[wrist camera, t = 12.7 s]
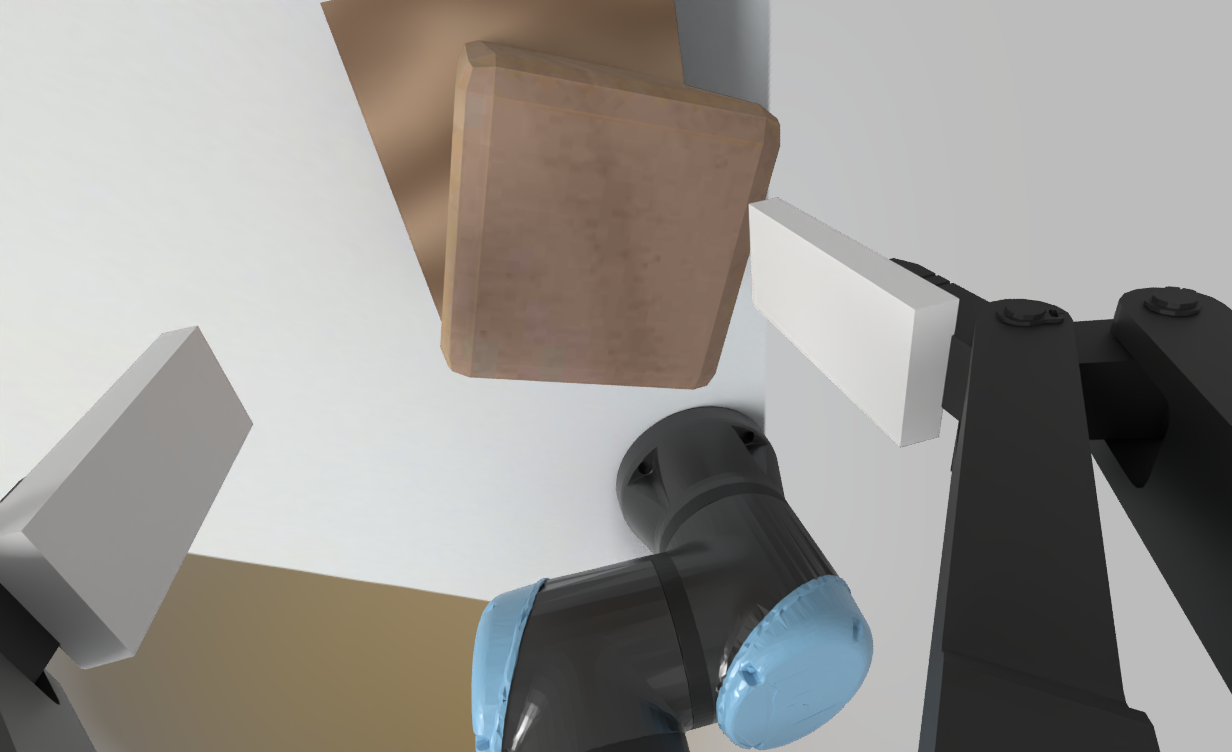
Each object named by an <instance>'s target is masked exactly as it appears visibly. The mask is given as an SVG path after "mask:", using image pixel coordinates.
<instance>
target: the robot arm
mask: <svg viewBox="0 0 1232 752" xmlns="http://www.w3.org/2000/svg"><path fill="white" fill-rule="evenodd" d="M749 226H750V250H751V275H752V299H753V305H754V306H755V307H756V308H757V309H758V310H759V311H760V312H761V313H762V314H763V315H764V316H765V317H766V318H767V319H768V320H769V321H770V322H771V323H772V324H773V325H774V326H776V327H777V328H778V329H779V330H780V331H781V332H782V333H783V334H784V335H785V336H786V337H787V338H788V339H789V340H790V341H791V342H792V343H793V344H794V345H795V346H796V347H797V348H798V349H799V350H800V351H801V352H802V353H803V354H804V355H805V356H806V357H808V359H809V360H810V361H812V363H814V364H815V365H816V366H817V367H818V368H819V369H820V370H821V371H822V372H823V373H824V374H825V375H826V376H827V377H828V378H829V379H830V380H831V381H832V382H833V383H834V384H835V385H836V386H837V387H838V388H839V389H840V390H841V391H842V392H843V393H844V394H845V395H846V396H847V397H848V398H850V399H851V400H852V401H853V402H854V403H855V404H856V405H857V406H858V407H859V408H860V409H861V410H862V411H863V412H864V413H865V414H866V415H867V416H868V417H869V418H870V419H871V420H872V421H873V422H874V423H875V424H876V425H877V426H878V427H880V429H881V430H882V431H883V432H885V434H887V435H888V436H889V437H890V438H891V439H892V440H893V441H894V442H895V443H896V444H897V445H898V446H899V447H904V446H908V445H911V444H915V443H919V442H922V441H926V440H929V439H934V438H937V437H939V433H940V426H941V419H942V413H943V409H945V410H946V411H947V412H948V413H950V414H951V415H952V416H953V417H955V418H956V419H957V420H958V421H959V423H958V429H957V436H956V441H955V447H954V453H953V459H952V465H951V471H952V476H951V484H950V493H949V501H948V509H947V517H946V525H945V533H944V542H943V550H942V558H941V566H940V575H939V583H938V592H937V600H936V608H935V616H934V625H933V633H932V641H931V649H930V658H929V666H928V675H927V682H926V691H925V699H924V707H923V716H922V724H921V732H920V740H919V749H918V752H1160V750H1159V745H1158V742H1157V738H1156V734H1155V730H1154V726H1153V724H1152V723H1151V721H1150V720H1149V718H1148V716H1147V715H1146V713H1145V712H1142V711H1139V710H1135V709H1132V708H1129V707H1128V705H1127V703H1126V701H1125V696H1124V691H1123V685H1122V677H1121V670H1120V663H1119V656H1118V648H1117V641H1116V633H1115V626H1114V619H1113V611H1112V604H1111V597H1110V589H1109V582H1108V574H1107V567H1106V560H1105V553H1104V546H1103V538H1102V531H1101V523H1100V516H1099V508H1098V501H1097V494H1096V486H1095V479H1094V472H1093V464H1092V458H1091V454H1092V455H1093V457H1094V459H1095V460H1096V462H1097V464H1098V466H1099V467H1100V469H1101V471H1102V472H1103V474H1104V476H1105V478H1106V479H1107V481H1108V482H1109V484H1110V486H1111V488H1112V490H1113V491H1114V493H1115V495H1116V496H1117V498H1118V500H1119V502H1120V503H1121V505H1122V507H1123V508H1124V510H1125V512H1126V514H1127V515H1128V517H1129V519H1130V520H1131V522H1132V524H1133V526H1134V527H1135V529H1136V530H1137V532H1138V534H1139V536H1140V538H1141V539H1142V541H1143V543H1144V544H1145V546H1146V548H1147V550H1148V551H1149V553H1150V555H1151V556H1152V558H1153V560H1154V562H1155V563H1156V565H1157V566H1158V568H1159V570H1160V572H1161V574H1162V575H1163V577H1164V579H1165V580H1166V582H1167V584H1168V585H1169V587H1170V589H1171V591H1172V592H1173V594H1174V596H1175V597H1176V599H1177V601H1178V602H1179V604H1180V606H1181V608H1182V609H1183V611H1184V613H1185V615H1186V616H1187V618H1188V620H1189V621H1190V623H1191V625H1192V626H1193V628H1194V630H1195V632H1196V633H1197V635H1198V637H1199V639H1200V640H1201V642H1202V644H1203V645H1204V647H1205V649H1206V650H1207V652H1208V653H1209V656H1210V657H1211V659H1212V661H1213V662H1214V664H1215V666H1216V668H1217V669H1218V671H1219V673H1220V674H1221V676H1222V678H1223V680H1224V681H1225V683H1226V685H1227V687H1228V688H1229V690H1230V692H1231V693H1232V310H1231V309H1230V308H1229V307H1227V306H1226V305H1225V304H1223V303H1222V302H1220V301H1218V300H1216V299H1214V298H1212V297H1210V296H1207V295H1203V294H1200V293H1197V292H1196V291H1194V290H1190V289H1185V288H1183V289H1180V288H1179V287H1165V288H1144V289H1136V290H1133V291H1130V292H1127V293H1124V294H1123V296H1122V297H1121V298H1120V299H1119V302H1118V305H1117V309H1116V312H1115V315H1114V319H1108V320H1093V321H1079V322H1073V320H1072V318H1071V316H1070V315H1069V313H1068V312H1066V311H1064V310H1063V309H1061V308H1059V307H1057V306H1055V305H1051V304H1048V303H1045V302H1041V301H1034V300H1027V299H1004V300H999V301H993V302H988V301H986V300H984V299H982V298H980V297H979V296H976V295H975V294H973V293H971V292H969V291H967V290H965V289H964V288H962V287H960V286H958V285H956V284H954V283H951V284H950V281H949V280H947V279H945V278H943V277H941V276H939V275H938V276H936V275H935V273H934V272H932V271H930V270H928V269H926V268H924V267H922V266H920V265H918V264H915V263H911V262H907V261H903V260H899V259H895V258H892V259H887V258H885V257H884V256H882V255H880V254H878V253H876V252H875V251H873V250H871V249H869V248H867V247H866V246H864V245H862V244H860V243H858V242H857V241H855V240H853V239H851V238H850V237H848V236H846V235H844V234H842V233H841V232H839V231H837V230H835V229H833V228H832V227H830V226H828V225H826V224H824V223H823V222H821V221H819V220H817V219H816V218H814V217H812V216H810V215H808V214H806V213H805V212H803V211H801V210H799V209H798V208H796V207H794V206H792V205H791V204H789V203H787V202H785V201H783V200H782V199H780V198H778V197H777V198H772V199H768V200H763V201H759V202H754V203H750V204H749ZM252 425H253V423H252V421H251V419H250V417H249V416H248V414H247V412H246V410H245V409H244V407H243V405H242V403H241V401H240V400H239V398H238V396H237V394H236V393H235V391H234V389H233V387H232V386H231V384H230V382H229V380H228V378H227V377H226V375H225V373H224V371H223V370H222V368H221V366H220V364H219V362H218V361H217V359H216V357H215V355H214V354H213V352H212V350H211V348H210V347H209V345H208V343H207V341H206V339H205V338H204V336H203V334H202V332H201V331H200V329H199V327H198V326H194V327H189V328H184V329H180V330H175V331H171V332H166V333H162V334H161V335H160V336H159V337H158V338H157V339H156V340H155V341H154V343H153V344H152V345H151V346H150V347H149V348H148V349H147V350H146V351H145V352H144V353H143V354H142V355H141V356H140V357H139V358H138V359H137V360H136V361H135V363H134V364H133V365H132V366H131V367H130V368H129V369H128V370H127V371H126V372H125V373H124V374H123V375H122V376H121V377H120V378H119V379H118V380H117V381H116V382H115V384H114V385H113V386H112V387H111V388H110V389H109V390H108V391H107V392H106V393H105V394H104V395H103V396H102V397H101V398H100V399H99V400H98V401H97V402H96V404H95V405H94V406H93V407H92V408H91V409H90V410H89V411H88V412H87V413H86V414H85V415H84V416H83V417H82V418H81V419H80V420H79V421H78V422H77V423H76V425H75V426H74V427H73V428H72V429H71V430H70V431H69V432H68V433H67V434H66V435H65V436H64V437H63V438H62V439H61V440H60V441H59V442H58V443H57V445H56V446H55V447H54V448H53V449H52V450H51V451H50V452H49V453H48V454H47V455H46V456H45V457H44V458H43V459H42V460H41V461H40V462H39V463H38V465H37V466H36V467H35V468H34V469H33V470H32V471H31V472H30V473H29V474H28V475H27V476H26V477H25V478H23V479H22V480H20V481H19V482H18V483H17V484H16V485H15V486H14V487H13V488H12V489H11V490H10V491H9V492H8V494H7V495H6V496H5V497H4V498H3V499H2V500H1V501H0V752H96V750H95V748H94V746H93V744H92V742H91V741H90V739H89V737H88V735H87V733H86V731H85V729H84V728H83V726H82V724H81V722H80V720H79V718H78V716H77V715H76V713H75V711H74V709H73V707H72V705H71V704H70V702H69V700H68V698H67V696H66V694H65V692H64V690H63V688H62V686H61V685H60V683H59V682H58V681H57V680H56V679H55V678H54V677H52V675H51V674H49V673H48V672H47V671H46V670H45V667H46V665H47V664H48V662H49V661H50V659H51V658H52V656H53V655H54V653H55V651H56V650H57V648H58V647H60V648H61V649H62V650H63V651H64V652H65V653H66V654H67V655H68V656H69V657H70V658H71V659H72V660H73V661H74V662H75V663H76V664H77V665H78V666H79V667H80V668H81V669H82V670H85V669H89V668H93V667H96V666H99V665H104V664H107V663H111V662H115V661H118V660H122V659H126V658H129V657H133V656H135V654H136V652H137V650H138V648H139V646H140V644H141V642H142V640H143V638H144V636H145V634H146V632H147V630H148V628H149V626H150V624H151V622H152V620H153V618H154V616H155V614H156V612H157V611H158V609H159V607H160V605H161V603H162V601H163V599H164V597H165V595H166V593H167V591H168V589H169V587H170V585H171V583H172V581H173V579H174V578H175V575H176V574H177V571H178V570H179V568H180V566H181V564H182V562H183V560H184V558H185V556H186V554H187V552H188V550H189V548H190V546H191V544H192V542H193V540H194V538H195V537H196V535H197V533H198V531H199V529H200V527H201V525H202V523H203V521H204V519H205V517H206V515H207V513H208V511H209V509H210V507H211V505H212V503H213V501H214V499H215V498H216V496H217V494H218V492H219V490H220V488H221V486H222V484H223V482H224V480H225V478H226V476H227V474H228V472H229V470H230V468H231V466H232V464H233V462H234V460H235V458H236V457H237V455H238V453H239V451H240V449H241V447H242V445H243V443H244V441H245V439H246V437H247V435H248V433H249V431H250V429H251V427H252ZM616 491H617V497H618V501H619V504H620V507H621V510H622V513H623V516H624V518H625V520H626V522H627V524H628V525H629V527H630V528H631V530H632V531H633V532H634V533H635V535H636V536H637V537H638V538H639V539H640V540H641V541H642V542H643V543H644V544H645V545H646V546H647V547H648V548H649V549H650V550H651V551H652V552H653V553H654V555H650V556H644V557H640V558H636V559H632V560H628V561H624V562H620V563H616V564H612V565H608V566H604V567H600V568H596V569H592V570H588V571H584V572H579V573H575V574H571V575H566V576H562V577H557V578H553V579H549V578H543V579H541V580H539V581H538V582H537V583H535V584H532V585H529V586H526V587H523V588H519V589H516V590H512V591H509V592H506V593H503V594H500V595H498V596H497V597H495V598H494V599H493V600H492V601H491V602H490V603H489V604H488V605H487V607H486V608H485V610H484V611H483V614H482V616H481V619H480V622H479V625H478V629H477V633H476V639H475V645H474V654H473V666H472V719H473V730H474V733H475V734H476V752H690V751H689V748H688V743H687V740H686V736H685V732H686V731H689V730H692V729H696V728H699V727H703V726H707V725H710V724H713V723H717V722H718V725H719V728H720V729H721V730H722V731H723V734H725V735H726V736H727V737H728V738H729V739H730V740H731V742H733V743H734V744H735V745H738V746H739V747H742V748H745V749H750V748H752V747H754V748H755V749H758V750H766V749H772V748H776V747H780V746H783V745H786V744H789V743H791V742H793V741H796V740H798V739H800V738H802V737H804V736H806V735H808V734H810V733H811V732H813V731H815V730H816V729H818V728H819V727H821V726H822V725H823V724H825V723H826V722H828V721H829V720H830V719H831V718H833V717H834V716H835V715H836V714H837V713H838V712H839V711H840V710H841V709H842V708H843V707H844V706H845V704H847V703H848V702H849V701H850V700H851V698H852V697H853V696H854V695H855V693H856V692H857V691H858V689H859V688H860V686H861V685H862V683H863V681H864V679H865V677H866V675H867V673H868V671H869V668H870V664H871V660H872V655H873V640H872V634H871V631H870V628H869V626H868V624H867V622H866V620H865V618H864V616H863V615H862V613H861V611H860V609H859V608H858V606H857V604H856V603H855V601H854V599H853V597H852V596H851V592H850V589H849V587H848V585H847V584H846V582H845V581H844V580H843V579H842V578H840V577H839V576H838V574H837V573H836V571H835V570H834V569H833V567H832V566H831V564H830V563H829V561H828V560H827V559H826V557H825V556H824V554H823V553H822V551H821V550H820V549H819V547H818V546H817V544H816V543H815V541H814V540H813V539H812V537H811V536H810V534H809V533H808V531H807V530H806V529H805V527H804V526H803V524H802V523H801V521H800V520H799V518H798V517H797V516H796V514H795V513H794V511H793V510H792V509H791V507H790V506H789V504H788V503H787V501H786V500H785V497H784V492H783V487H782V482H781V477H780V472H779V466H778V461H777V457H776V454H775V452H774V449H773V447H772V445H771V444H770V442H769V441H768V439H767V438H766V436H765V435H764V434H763V432H762V431H761V430H760V428H759V427H758V426H757V425H756V424H755V423H754V422H753V421H752V420H751V419H749V418H748V417H746V416H745V415H743V414H741V413H738V412H736V411H733V410H730V409H725V408H718V407H701V408H694V409H689V410H685V411H682V412H679V413H676V414H673V415H671V416H669V417H667V418H665V419H663V420H661V421H659V422H658V423H656V424H654V425H653V426H652V427H650V428H649V429H648V430H646V431H645V432H644V433H643V434H642V435H641V436H640V437H639V438H638V439H637V440H636V441H635V442H634V443H633V444H632V446H631V447H630V448H629V450H628V451H627V453H626V454H625V456H624V458H623V460H622V462H621V465H620V467H619V471H618V474H617V481H616Z"/></svg>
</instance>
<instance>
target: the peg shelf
mask: <svg viewBox="0 0 1232 752" xmlns="http://www.w3.org/2000/svg"><path fill="white" fill-rule="evenodd" d="M320 4H321V6H322V9H323V11H324V14H325V17H326V19H327V22H328V25H329V27H330V30H331V33H332V35H333V38H334V40H335V43H336V46H337V48H338V51H339V54H340V56H341V59H342V61H343V64H344V67H345V69H346V72H347V75H348V77H349V80H350V82H351V85H352V88H353V90H354V93H355V96H356V98H357V101H358V103H359V106H360V109H361V111H362V114H363V117H364V119H365V122H366V124H367V127H368V130H369V132H370V135H371V138H372V140H373V143H374V145H375V148H376V151H377V153H378V156H379V159H380V161H381V164H382V167H383V169H384V172H385V174H386V177H387V180H388V182H389V185H390V188H391V190H392V193H393V195H394V198H395V201H396V203H397V206H398V209H399V211H400V214H401V216H402V219H403V222H404V224H405V227H406V230H407V232H408V235H409V237H410V240H411V243H412V245H413V248H414V251H415V253H416V256H417V258H418V261H419V264H420V266H421V269H422V272H423V274H424V277H425V279H426V282H427V285H428V287H429V290H430V293H431V295H432V298H433V301H434V303H435V306H436V308H437V311H438V314H439V316H440V319H441V322H442V310H443V292H444V275H445V257H446V240H447V222H448V205H449V188H450V170H451V153H452V135H453V118H454V100H455V84H456V74H457V63H458V57H459V55H460V52H461V50H462V48H463V46H464V44H465V43H469V42H473V41H477V40H481V41H486V42H491V43H496V44H502V45H507V46H512V47H517V48H522V49H527V50H532V51H537V52H542V53H547V54H552V55H557V56H562V57H567V58H572V59H577V60H582V61H587V62H592V63H597V64H602V65H607V66H612V67H617V68H623V69H627V70H631V71H635V72H639V73H642V74H646V75H650V76H654V77H658V78H661V79H665V80H669V81H673V82H676V83H680V84H684V77H683V69H682V61H681V52H680V44H679V36H678V28H677V20H676V12H675V4H674V0H331V1H327V2H322V3H320Z"/></svg>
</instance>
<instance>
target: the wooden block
mask: <svg viewBox="0 0 1232 752" xmlns="http://www.w3.org/2000/svg"><path fill="white" fill-rule="evenodd" d="M779 148H780V124H779V122H778V120H777V118H776V117H774V116H773V115H772V114H771V113H769V112H768V111H767V110H766V109H764V108H763V107H762V106H761V105H759V104H756V103H752V102H748V101H744V100H741V99H737V98H733V97H729V96H725V95H722V94H718V93H714V92H710V91H707V90H703V89H699V88H695V87H692V86H688V85H684V84H680V83H676V82H673V81H669V80H665V79H661V78H658V77H654V76H650V75H646V74H642V73H639V72H635V71H631V70H627V69H623V68H617V67H612V66H607V65H602V64H597V63H592V62H587V61H582V60H577V59H572V58H567V57H562V56H557V55H552V54H547V53H542V52H537V51H532V50H527V49H522V48H517V47H512V46H507V45H502V44H496V43H491V42H486V41H481V40H477V41H473V42H469V43H465V44H464V46H463V48H462V50H461V52H460V55H459V57H458V63H457V74H456V84H455V100H454V118H453V135H452V153H451V170H450V188H449V205H448V222H447V240H446V257H445V275H444V292H443V310H442V327H441V345H440V347H441V350H442V352H443V354H444V357H445V359H446V362H447V364H448V366H449V368H450V369H451V370H452V371H454V372H457V373H459V374H462V375H465V376H468V377H474V378H492V379H511V380H529V381H547V382H566V383H584V384H602V385H621V386H639V387H657V388H675V389H696V388H700V387H703V386H707V385H708V383H709V382H710V380H711V379H712V378H713V376H714V375H715V373H716V369H717V366H718V362H719V359H720V355H721V352H722V348H723V345H724V341H725V338H726V334H727V331H728V327H729V324H730V320H731V317H732V313H733V310H734V306H735V303H736V299H737V295H738V292H739V288H740V285H741V281H742V278H743V274H744V271H745V267H746V264H747V260H748V257H749V253H750V226H749V204H750V203H754V202H759V201H763V200H765V197H766V193H767V190H768V186H769V183H770V179H771V176H772V172H773V169H774V165H775V162H776V158H777V155H778V151H779Z"/></svg>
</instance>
